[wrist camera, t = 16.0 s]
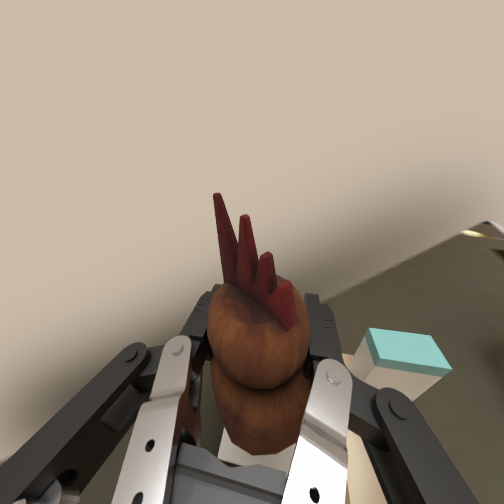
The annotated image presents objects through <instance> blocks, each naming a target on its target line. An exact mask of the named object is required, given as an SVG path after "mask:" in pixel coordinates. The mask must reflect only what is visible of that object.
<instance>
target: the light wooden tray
mask: <svg viewBox="0 0 504 504" xmlns="http://www.w3.org/2000/svg"><path fill="white" fill-rule="evenodd" d="M342 357H343V360H344V363H345V365H346V367H347V368H348V366H349V364H350V363H351V361H352V359H353V357H354V355H348V354H342ZM346 447H347V450H348V469H347V480H346V490H345V501H344V504H387V501H386V499H385V497H384V494H383V492H382V489H381V487H380V484H379V482H378V479H377V477H376V474H375V472H374V469H373V467H372V464H371V462H370V459H369V457H368V454H367V452H366V449H365V447H364V444H363V442H362V439H361V437H360V436H358V435H357V434H355V433H353V432H352V431H350V430H349V429H348V431H347V441H346Z"/></svg>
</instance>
